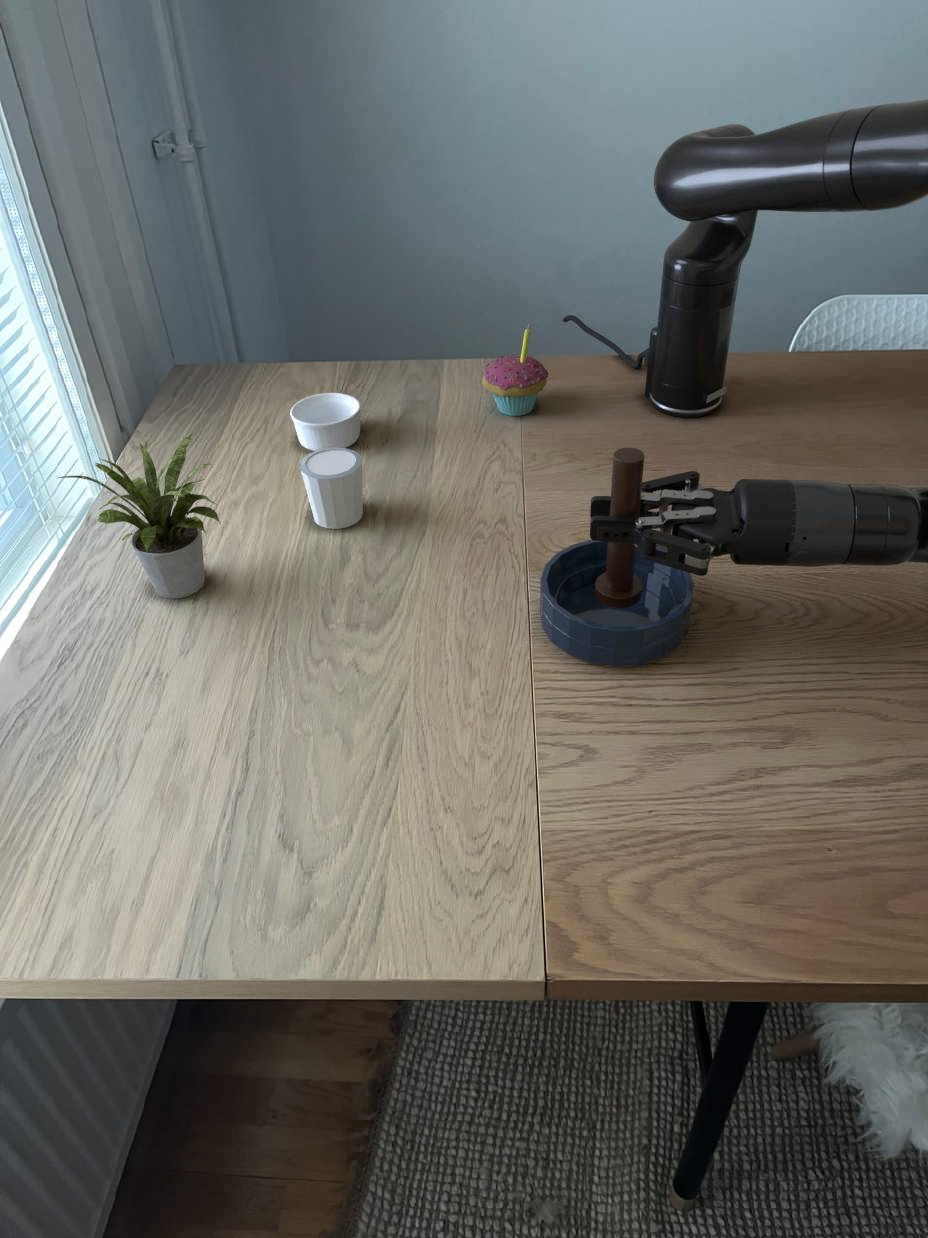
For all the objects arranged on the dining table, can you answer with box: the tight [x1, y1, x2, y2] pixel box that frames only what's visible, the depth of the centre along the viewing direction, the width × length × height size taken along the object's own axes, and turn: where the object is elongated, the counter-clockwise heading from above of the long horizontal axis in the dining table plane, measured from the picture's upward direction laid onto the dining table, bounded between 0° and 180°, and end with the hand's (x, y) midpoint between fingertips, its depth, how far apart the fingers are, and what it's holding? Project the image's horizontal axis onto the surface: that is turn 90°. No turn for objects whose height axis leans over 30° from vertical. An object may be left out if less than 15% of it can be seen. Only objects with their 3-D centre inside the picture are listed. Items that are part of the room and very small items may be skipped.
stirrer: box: [595, 447, 645, 608], centre depth 85 cm, size 4×4×15 cm
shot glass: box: [299, 447, 364, 530], centre depth 106 cm, size 7×7×7 cm
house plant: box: [58, 432, 221, 600], centre depth 94 cm, size 14×14×16 cm
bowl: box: [539, 539, 696, 668], centre depth 91 cm, size 14×14×5 cm
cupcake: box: [482, 323, 549, 417], centre depth 123 cm, size 9×8×12 cm
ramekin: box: [289, 392, 361, 452], centre depth 121 cm, size 9×9×4 cm
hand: (591, 518), depth 85 cm, fingers closed on stirrer, 2 cm apart
